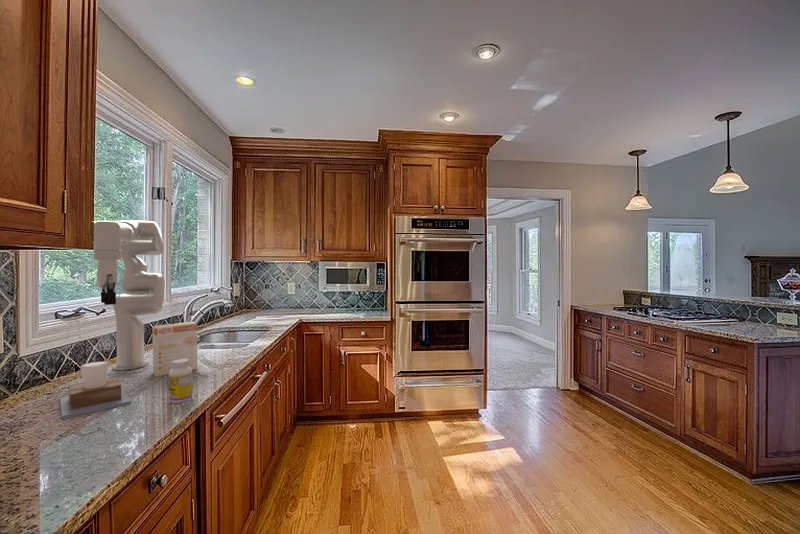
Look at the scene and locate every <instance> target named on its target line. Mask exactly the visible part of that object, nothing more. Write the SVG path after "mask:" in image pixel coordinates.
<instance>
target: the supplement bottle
mask: <svg viewBox="0 0 800 534" xmlns="http://www.w3.org/2000/svg"><path fill="white" fill-rule="evenodd" d="M188 364H189V360H188V359H179V360H175V361H172V366H173V369H171V370H170V371H169V374H168V402H169V403H171V404H182V403H186V402H188V401H191V400H192V399H193V395H194V394H193V393H194V390H193V384H194V383H193V370H192V368H191V367H188Z"/></svg>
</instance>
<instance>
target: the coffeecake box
mask: <svg viewBox="0 0 800 534" xmlns="http://www.w3.org/2000/svg"><path fill="white" fill-rule="evenodd" d="M151 329H152V334H151V335H152V372H153V375H154V376H155V377H161V376H167V375H169V371H170V370H171V369H173V366H172V361H175V360H179V359H188V360H189V364H188V367H191V368H192V371H195V370H198V369H199V368H198V363H199V362H198V323H197V322H195V321H187V322H186V321H185V322H177V323H167V324H160V325H159V324H158V325H152V328H151Z"/></svg>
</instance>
